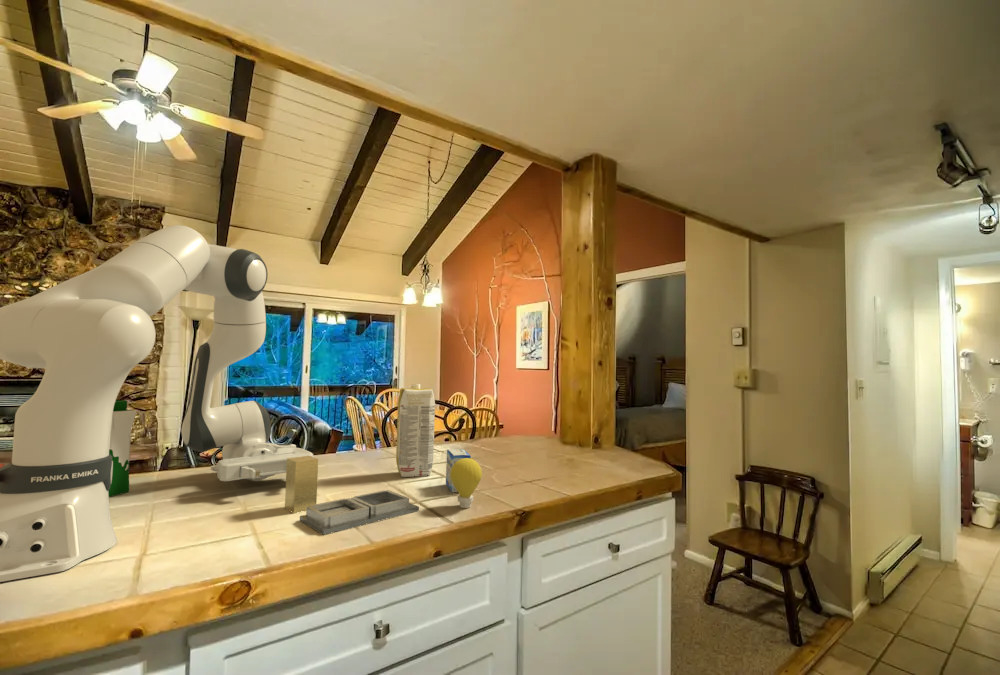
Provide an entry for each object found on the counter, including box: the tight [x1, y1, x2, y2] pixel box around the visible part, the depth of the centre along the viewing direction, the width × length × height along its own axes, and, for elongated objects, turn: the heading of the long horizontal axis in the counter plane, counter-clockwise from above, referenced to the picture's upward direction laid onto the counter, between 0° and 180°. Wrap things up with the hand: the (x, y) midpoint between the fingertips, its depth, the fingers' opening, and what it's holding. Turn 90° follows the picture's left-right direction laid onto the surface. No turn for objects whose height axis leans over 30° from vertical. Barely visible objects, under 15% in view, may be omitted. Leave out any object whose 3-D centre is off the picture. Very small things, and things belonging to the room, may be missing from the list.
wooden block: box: [284, 456, 319, 514], centre depth 96 cm, size 4×4×10 cm
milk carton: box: [108, 399, 137, 498], centre depth 102 cm, size 9×9×20 cm
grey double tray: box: [299, 489, 420, 535], centre depth 92 cm, size 20×10×3 cm, turn 135°
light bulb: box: [450, 458, 483, 509], centre depth 99 cm, size 7×7×10 cm
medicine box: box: [445, 448, 472, 494], centre depth 113 cm, size 8×4×9 cm, turn 17°
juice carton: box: [395, 383, 436, 478], centre depth 127 cm, size 9×8×24 cm
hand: (279, 471), depth 104 cm, fingers open, 8 cm apart
